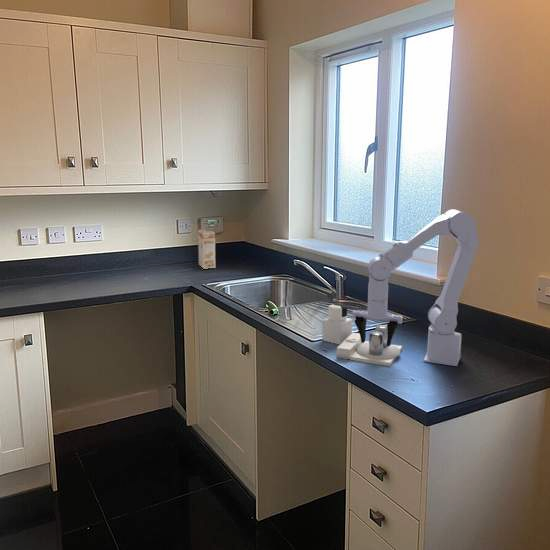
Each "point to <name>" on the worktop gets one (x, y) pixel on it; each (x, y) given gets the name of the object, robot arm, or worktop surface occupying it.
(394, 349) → the scale
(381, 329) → the cylinder
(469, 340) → the worktop surface
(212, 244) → the coffeecake box
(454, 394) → the worktop surface
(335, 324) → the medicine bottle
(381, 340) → the cylinder
